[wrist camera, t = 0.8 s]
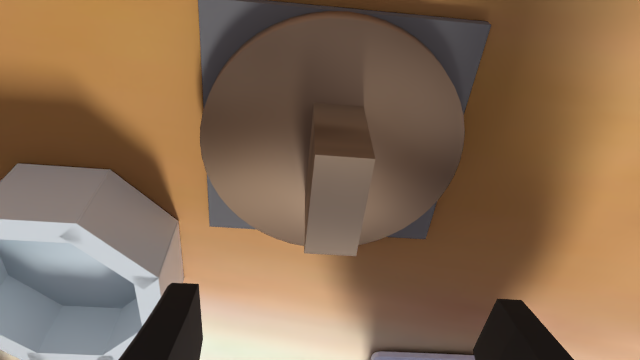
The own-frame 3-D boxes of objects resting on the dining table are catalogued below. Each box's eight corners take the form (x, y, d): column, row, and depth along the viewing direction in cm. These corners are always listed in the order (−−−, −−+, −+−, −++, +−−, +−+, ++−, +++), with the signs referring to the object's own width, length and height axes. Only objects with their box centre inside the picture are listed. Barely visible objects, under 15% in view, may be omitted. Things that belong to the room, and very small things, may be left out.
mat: (423, 233, 22) (425, 239, 22) (211, 220, 21) (209, 226, 21) (487, 21, 16) (491, 25, 16) (200, -6, 16) (197, -3, 15)
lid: (425, 239, 22) (449, 317, 18) (209, 226, 21) (189, 305, 17) (491, 25, 16) (545, 75, 12) (198, -4, 15) (163, 41, 12)
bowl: (188, 311, 25) (172, 370, 22) (12, 303, 24) (-27, 363, 21) (174, 173, 20) (151, 227, 17) (-49, 158, 19) (-112, 212, 16)
